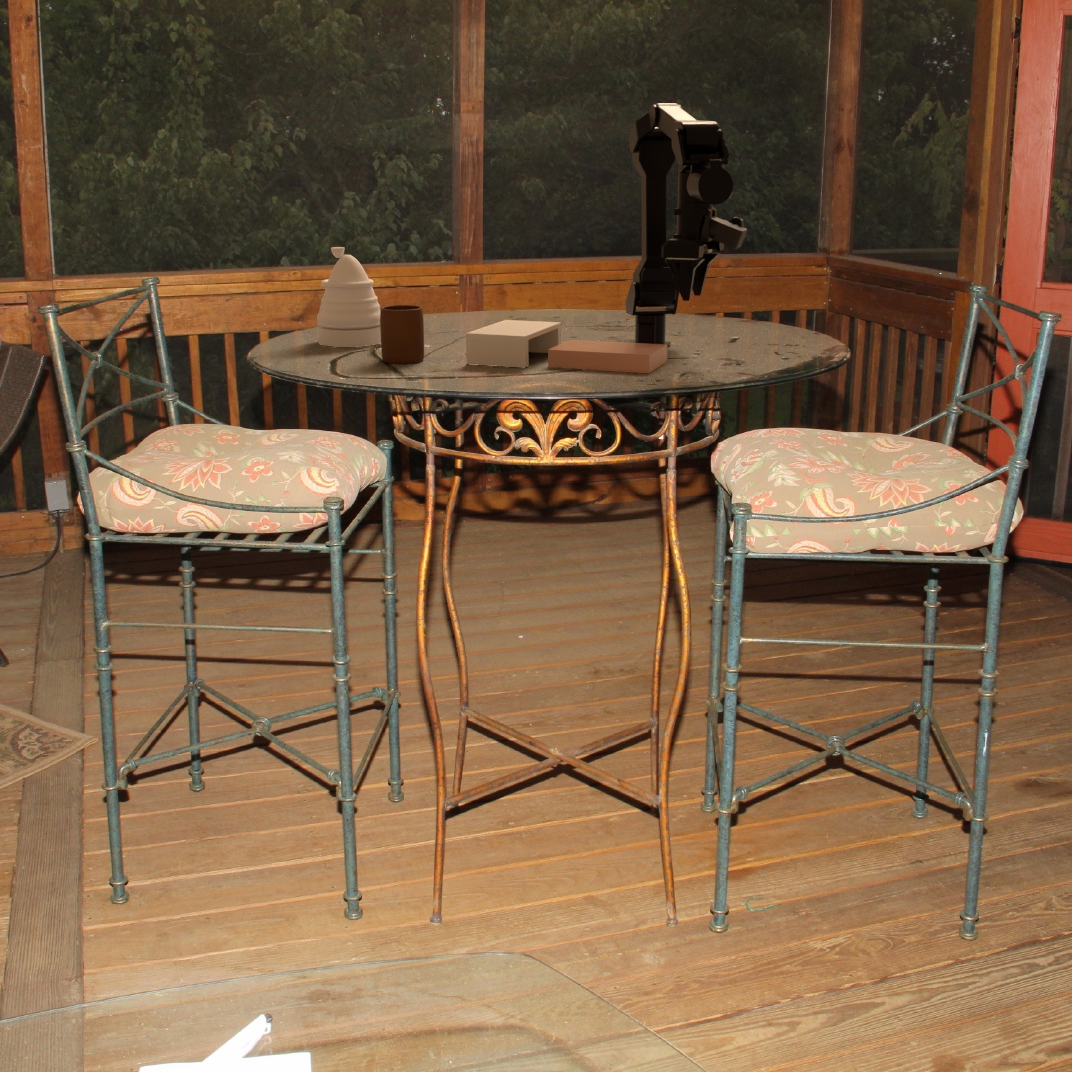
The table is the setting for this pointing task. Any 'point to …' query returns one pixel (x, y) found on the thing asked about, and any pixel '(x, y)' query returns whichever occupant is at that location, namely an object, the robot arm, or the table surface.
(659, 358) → the block
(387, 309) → the mug
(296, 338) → the table surface
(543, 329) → the bridge
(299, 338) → the table surface
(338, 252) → the honey pot
